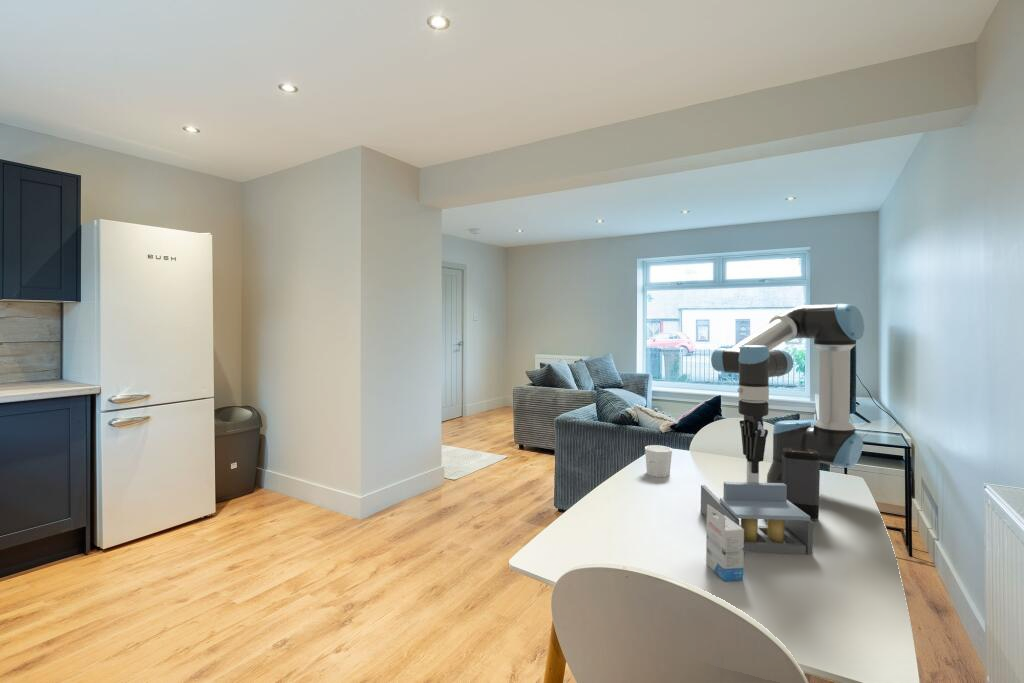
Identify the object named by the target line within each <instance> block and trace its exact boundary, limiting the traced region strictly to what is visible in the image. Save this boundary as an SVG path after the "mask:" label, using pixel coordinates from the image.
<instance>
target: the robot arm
mask: <svg viewBox="0 0 1024 683" xmlns="http://www.w3.org/2000/svg"><path fill="white" fill-rule="evenodd" d="M864 332H865V321H864V317H863V315H862V312H861V310H860V308H858V306H856V305H854V304H852V303H840V302H839V303H830V304H829V303H828V304H826V303H825V304H822V303H821V304H803V305H798V306H795V307H793V308H790V309H787V310H786V311H783V312H781V313H779V314H777V315H776V316H774V317H772V318H771V319H770V320H769V323H767V325H765V326H764V327H761V328H760V329H758V330H757V331H755V332H754V333H751V334H750V335H748V336H747V337H745V338H743V339H742V340H741V341H738V343H736V344H734V345H733V346H731V347H728V348H726V347H723V348H722V347H721V348H716V349H714V350H713V352H712V353H711V357H710V361H711V367H712V368H713V370H715V371H716V372H720V373H725V374H738V388H737V392H738V398H739V400H738V414H740V415H742V416H743V420H739V427H740V435H741V444H742V455H744V456H745V459H746V482H753V483H760V480H759V479H760V464H759V463H760V462H764V457H765V451H766V442H767V437H768V433H769V430H768V429H765V428H764V420H763V419H764V418H763V417H766V416H768V415H769V402H768V400H769V399H770V397H769V396H770V394H769V393H770V390H769V389H770V386H769V385H770V384H769V380H770V378H772V377H773V378H775V377H783V376H784V375H787V374H789V373H791V371H792V369H793V368H794V359H793V357H792V356H791V354H790V353H789V352H787V351H785V350H779V349H775V348H776V347H778V346H779V345H781V344H782V343H785V342H791V341H792V340H794V339H813V345H814V346H815V347H816V348H817V349H818V350H819V351H818V352H819V356H818V357H819V358H818V359H819V360H818V362H819V363H818V365H819V366H818V370H819V371H818V373H819V374H818V420H816V421H814V423H813V426H812V423H811V421H810V420H805V419H803V420H801V419H795V420H794V419H791V420H790V419H789V420H779V421H776V422H775V423H774V424H773V430H772V431H773V432H772V435H773V436H772V463H771V465H770V467H769V469H768V472H767V474H766V483H782V451H783V449H784V448H791V449H792V450H799V451H807V449H811V450H815V451H817V452H818V453H819V454H820V464H821V463H822V464H826V465H831V466H833V467H841V468H847V469H848V468H852V467H854V466H856V464H857V463H858V461H859V459H860V457H861V455H862V452H863V448H864V447H863V446H864V440H863V436H862V435H860V434H859V433H856V426H855V425H854V424H853V423H851V421H850V415H851V414H850V410H851V409H850V407H851V405H850V404H851V403H850V401H851V400H850V399H851V392H850V391H851V387H850V386H851V350H852V349H853V348H854V347H855V346H857V341H858V340H860V339H862V338H863V336H864Z"/></svg>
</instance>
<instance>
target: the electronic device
mask: <svg viewBox="0 0 1024 683" xmlns="http://www.w3.org/2000/svg"><path fill="white" fill-rule="evenodd" d="M820 465H821V462H820V454H819V453H818V452H817V451H815V450H811V449H807V451H799V450H792V449H791V448H784V449H783V451H782V483H784V484H785V485H787V500H788V501H789V502H791V503H792V504H794V505H795V506H796V507H798V508H799V509H800V510H802V511H803V512H805V513H806V514H807V515H809V516H810V520H811V521H812V522H816V521H817V522H818V521H819V516H820V515H819V513H820V512H819V511H820V480H821V479H820V478H821V477H820V476H821V474H820V473H821V472H820V471H821V466H820Z"/></svg>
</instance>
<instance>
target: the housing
mask: <svg viewBox="0 0 1024 683" xmlns="http://www.w3.org/2000/svg"><path fill="white" fill-rule="evenodd" d="M707 504H709V505H710V506H711V507H713V508H714V509H715V510H717V511H718V512H719V513H721V514H722V515H725V516H726V517H728V518H729V519H730V520H732V521H733V522H734V523H736V524H737V525H739V526H740V527H741V524H740V518H736V517H735V516H734V515H733V514H732V513H731V512H730V511H729V510H728V509H727V508H726V507H725V506H724V505H723V504H722V503H721V502H720V498H719V497H717V496H716V494H715V493H713V492H712V490H710V488H708V487H707V486H706V485H705V484H701V485H700V513H702V515H703V516H704V517H705V518H706V519H707ZM713 516H716V513H715V514H714V513H713ZM813 541H814V521H811V520H810V521H808V520H785V533H784V543H773V542H772V541H771V540H770V539H769V538H768V537H767V525H758V533H757V542H745V541H744V553H758V554H759V553H760V554H761V553H762V554H786V555H787V554H788V555H789V554H790V555H791V554H792V555H794V554H795V555H813V548H814V545H813Z"/></svg>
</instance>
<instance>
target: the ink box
mask: <svg viewBox="0 0 1024 683" xmlns="http://www.w3.org/2000/svg"><path fill="white" fill-rule="evenodd" d="M713 513H714V514H715V513H716V516H713ZM739 525H740V524H739ZM739 525H737V524H736V523H734V522H733V521H732V520H730V519H729V518H728V517H726V516H725V515H722V514H721V513H719V512H718V511H717V510H715V509H714V508H713V507H711V506H710V505H709V504H707V518H706V529H705V530H706V533H705V534H706V538H705V539H706V540H705V542H706V544H705V548H706V549H705V550H706V551H705V554H706V555H705V558H706V560H705V564H706V565H707V566H708V567H709V568H710V569H711V570H712V571H713V573H715V574H716V575H717V576H718V577H719V578H720V579H721V580H722V581H723V582H730V581H743V580H744V566H745V564H744V561H745V560H744V559H745V558H744V556H745V555H744V553H745V552H744V529H743V528H741V527H740V526H739Z"/></svg>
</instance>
